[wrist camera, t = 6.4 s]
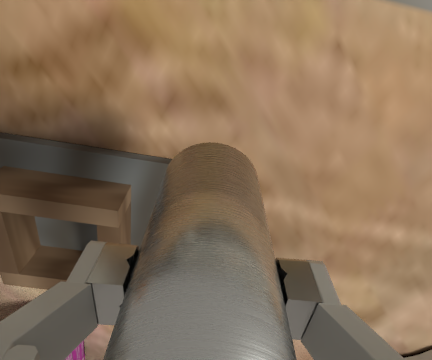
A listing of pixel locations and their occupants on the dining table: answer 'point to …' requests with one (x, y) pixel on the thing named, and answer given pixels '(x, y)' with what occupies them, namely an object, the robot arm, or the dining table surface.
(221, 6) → the dining table surface
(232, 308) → the steel pin
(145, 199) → the hitch block
